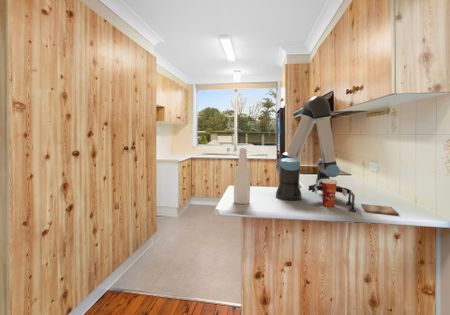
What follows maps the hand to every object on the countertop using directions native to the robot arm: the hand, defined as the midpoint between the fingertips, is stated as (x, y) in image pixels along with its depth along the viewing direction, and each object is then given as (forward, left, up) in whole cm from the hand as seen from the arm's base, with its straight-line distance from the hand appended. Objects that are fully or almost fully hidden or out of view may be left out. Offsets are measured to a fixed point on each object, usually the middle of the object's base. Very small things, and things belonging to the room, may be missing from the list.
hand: (331, 192), depth 134 cm
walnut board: (+23, +3, -8) cm, 24 cm away
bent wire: (+10, +2, -8) cm, 13 cm away
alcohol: (-46, -11, -8) cm, 48 cm away
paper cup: (-1, +2, -8) cm, 8 cm away
